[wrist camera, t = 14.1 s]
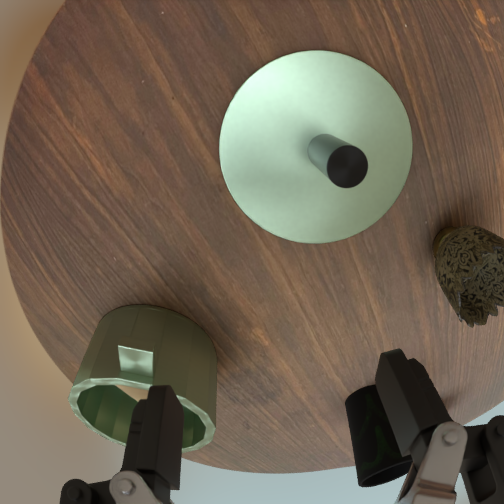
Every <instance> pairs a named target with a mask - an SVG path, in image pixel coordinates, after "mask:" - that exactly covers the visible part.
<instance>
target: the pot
mask: <svg viewBox="0 0 504 504" xmlns="http://www.w3.org/2000/svg"><path fill="white" fill-rule="evenodd" d="M116 385H124V386H128V387H133V388H138V389H143V390H148V391H149V388H150V386H153V385H170V386H171V387H172V389H173V390H174V392H175V394H176V396H177V398H178V399H179V401H180V403H181V405H182V407H183V411H184V428H183V441H182V453H185V452H189V451H194V450H198V449H200V448H202V447H203V446H205V445H206V444H208V443H209V442H211V441H212V440H213V436H214V433H215V430H216V391H217V357H216V351H215V347H214V345H213V343H212V341H211V339H210V338H209V336H208V335H207V334H206V333H205V331H204V330H203V329H202V328H200V327H199V326H198V325H197V324H196V323H194V322H193V321H191V320H190V319H188V318H187V317H185V316H183V315H181V314H179V313H176V312H174V311H171V310H168V309H165V308H161V307H157V306H151V305H129V306H124V307H121V308H118V309H115V310H113V311H111V312H109V313H108V314H107V315H106V316H104V317H103V319H102V320H101V321H100V322H99V324H98V326H97V328H96V331H95V333H94V335H93V337H92V340H91V342H90V344H89V347H88V349H87V351H86V354H85V356H84V358H83V361H82V363H81V366H80V368H79V371H78V373H77V376H76V378H75V381H74V383H73V386H72V389H71V392H70V395H69V397H68V400H69V402H70V405H71V407H72V410H73V412H74V414H75V415H76V416H77V417H78V418H79V419H80V420H81V421H82V422H83V423H84V424H85V425H86V426H87V427H88V428H90V429H91V430H93V431H94V432H96V433H97V434H99V435H101V436H102V437H104V438H106V439H108V440H110V441H112V442H115V443H117V444H120V445H123V446H125V447H126V442H127V437H128V433H129V427H130V424H131V417H132V412H133V409H134V407H135V406H136V404H137V403H138V401H136V400H135V399H133V398H132V397H131V396H129V395H128V394H126V393H125V392H124V391H122V390H121V389H120V388H118V387H117V386H116Z"/></svg>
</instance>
